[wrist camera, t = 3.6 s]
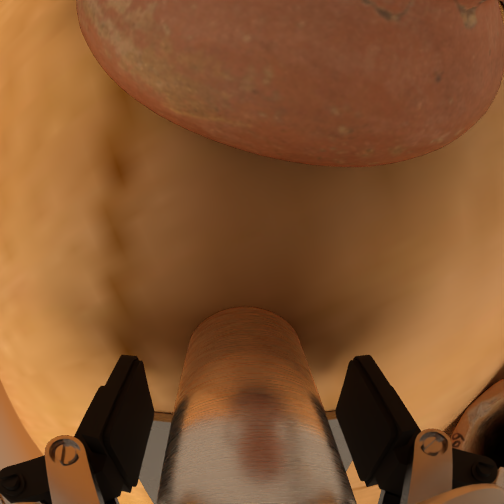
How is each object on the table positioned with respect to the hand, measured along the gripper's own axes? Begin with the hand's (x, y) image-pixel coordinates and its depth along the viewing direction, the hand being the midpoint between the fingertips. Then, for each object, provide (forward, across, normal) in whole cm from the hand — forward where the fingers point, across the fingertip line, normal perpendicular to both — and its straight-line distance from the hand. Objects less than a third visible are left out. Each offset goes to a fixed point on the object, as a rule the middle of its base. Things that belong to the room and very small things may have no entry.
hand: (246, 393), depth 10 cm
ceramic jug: (+3, -1, -15) cm, 15 cm away
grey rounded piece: (+2, 0, +1) cm, 3 cm away
